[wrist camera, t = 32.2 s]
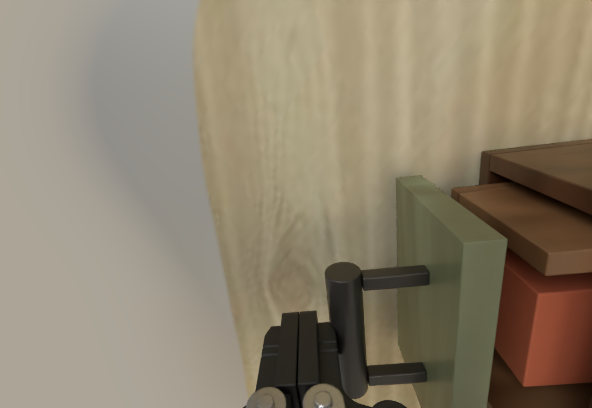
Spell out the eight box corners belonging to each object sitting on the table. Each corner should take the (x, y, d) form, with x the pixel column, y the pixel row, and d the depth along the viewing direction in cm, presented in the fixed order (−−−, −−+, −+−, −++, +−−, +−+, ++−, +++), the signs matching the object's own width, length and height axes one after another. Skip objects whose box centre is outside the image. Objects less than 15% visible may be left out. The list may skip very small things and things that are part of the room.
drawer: (332, 349, 19) (346, 483, 12) (315, 186, 15) (322, 256, 9) (620, 328, 18) (800, 464, 11) (674, 147, 14) (983, 194, 8)
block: (467, 311, 16) (523, 387, 12) (473, 236, 15) (538, 294, 10) (555, 304, 16) (643, 380, 12) (570, 227, 14) (678, 282, 10)
